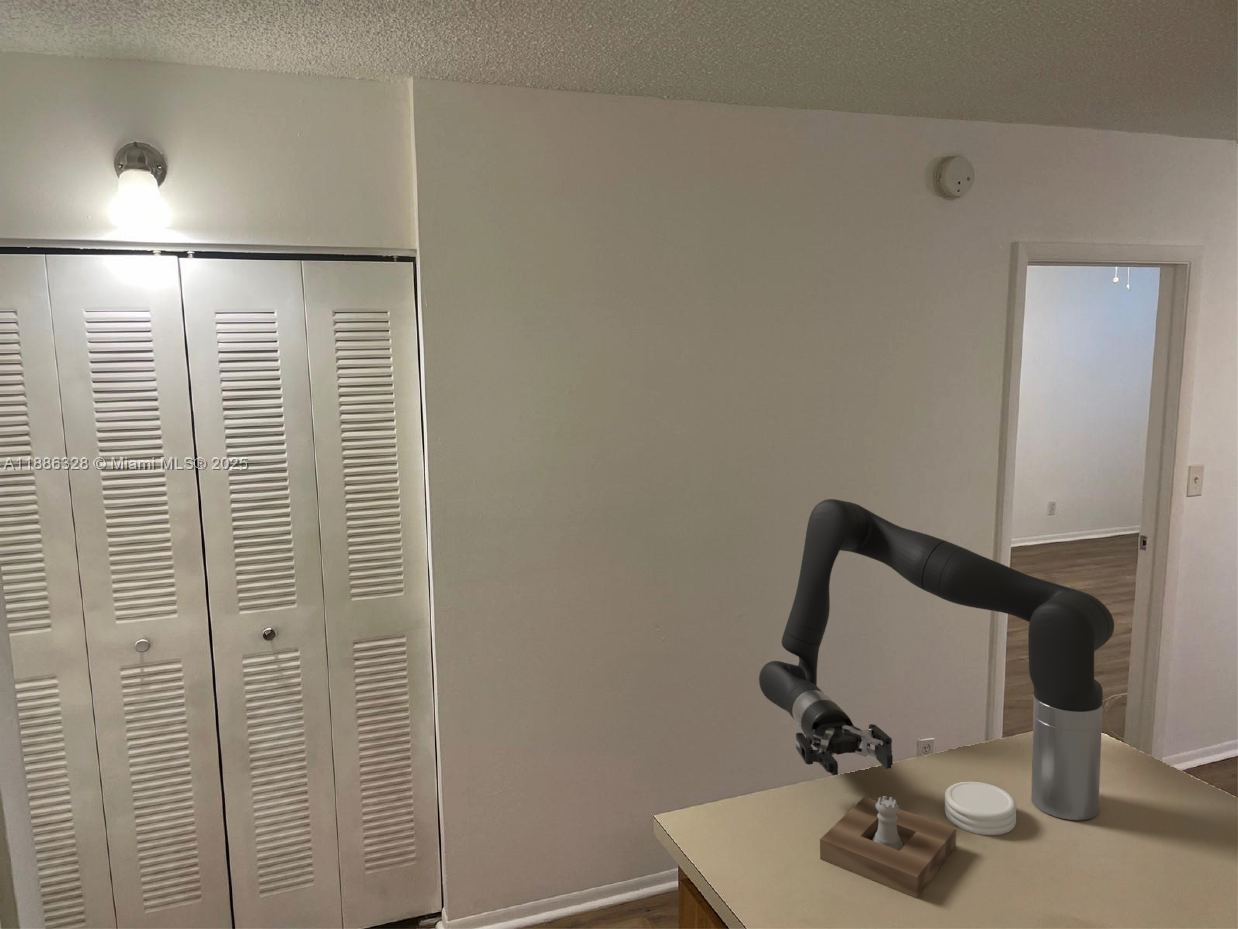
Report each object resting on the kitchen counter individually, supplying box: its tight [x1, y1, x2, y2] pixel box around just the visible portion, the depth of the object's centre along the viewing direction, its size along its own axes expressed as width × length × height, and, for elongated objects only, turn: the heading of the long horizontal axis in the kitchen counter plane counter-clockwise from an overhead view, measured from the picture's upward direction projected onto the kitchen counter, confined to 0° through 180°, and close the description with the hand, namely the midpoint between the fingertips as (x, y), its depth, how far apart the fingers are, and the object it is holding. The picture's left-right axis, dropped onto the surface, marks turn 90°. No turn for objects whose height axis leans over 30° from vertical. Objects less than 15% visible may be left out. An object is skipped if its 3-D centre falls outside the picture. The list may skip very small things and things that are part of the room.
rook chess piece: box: [872, 795, 903, 851], centre depth 119 cm, size 4×4×8 cm
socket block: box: [819, 796, 957, 899], centre depth 119 cm, size 14×14×3 cm
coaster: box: [944, 781, 1017, 836], centre depth 127 cm, size 10×10×4 cm
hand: (862, 766), depth 126 cm, fingers open, 8 cm apart
